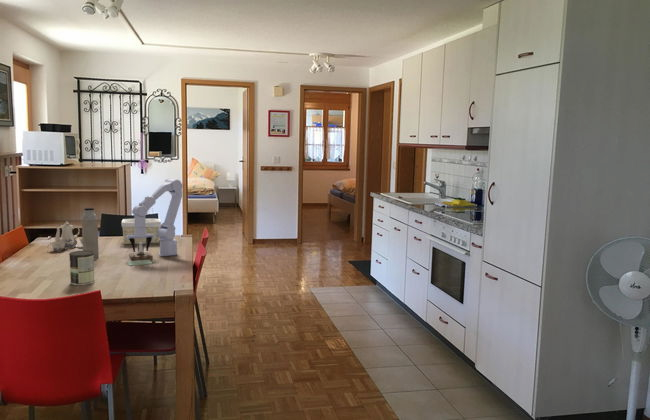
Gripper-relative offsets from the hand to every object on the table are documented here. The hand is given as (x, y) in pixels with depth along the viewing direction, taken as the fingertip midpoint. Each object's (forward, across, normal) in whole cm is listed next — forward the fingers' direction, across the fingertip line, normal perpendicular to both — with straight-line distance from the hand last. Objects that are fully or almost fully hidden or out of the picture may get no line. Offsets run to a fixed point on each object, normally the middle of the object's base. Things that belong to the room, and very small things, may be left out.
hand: (140, 251), depth 296 cm
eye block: (+4, 0, 0) cm, 4 cm away
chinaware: (+5, +35, -46) cm, 58 cm away
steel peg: (+4, 0, 0) cm, 4 cm away
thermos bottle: (+5, +25, -12) cm, 28 cm away
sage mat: (+4, +2, +10) cm, 12 cm away
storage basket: (+5, -7, -51) cm, 51 cm away
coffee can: (+5, +31, +42) cm, 52 cm away
